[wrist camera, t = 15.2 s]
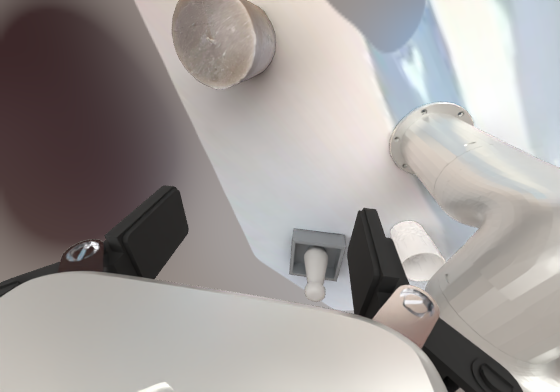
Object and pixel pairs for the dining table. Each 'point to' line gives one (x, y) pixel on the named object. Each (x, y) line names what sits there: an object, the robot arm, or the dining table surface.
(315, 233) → the box
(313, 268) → the salt shaker
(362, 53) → the dining table surface
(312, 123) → the dining table surface
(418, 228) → the white cup
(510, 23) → the dining table surface
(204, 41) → the pillar candle
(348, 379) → the robot arm
